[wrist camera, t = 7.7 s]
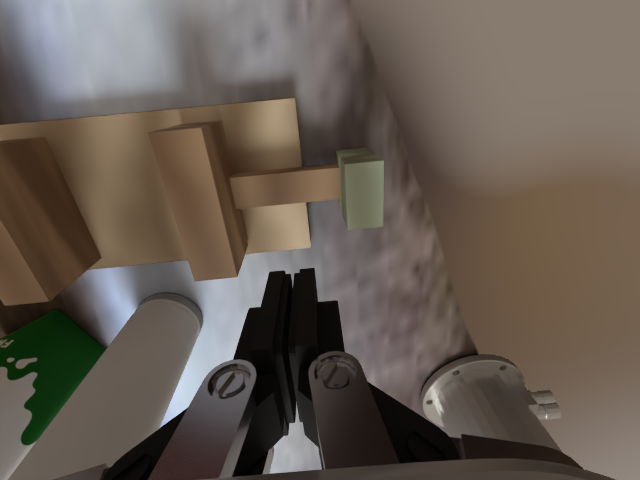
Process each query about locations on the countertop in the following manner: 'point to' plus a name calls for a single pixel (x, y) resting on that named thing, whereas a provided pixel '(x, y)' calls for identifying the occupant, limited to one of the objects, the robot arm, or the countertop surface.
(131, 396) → the travel mug
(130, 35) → the countertop surface
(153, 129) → the base
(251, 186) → the sliding jaw
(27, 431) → the milk carton
